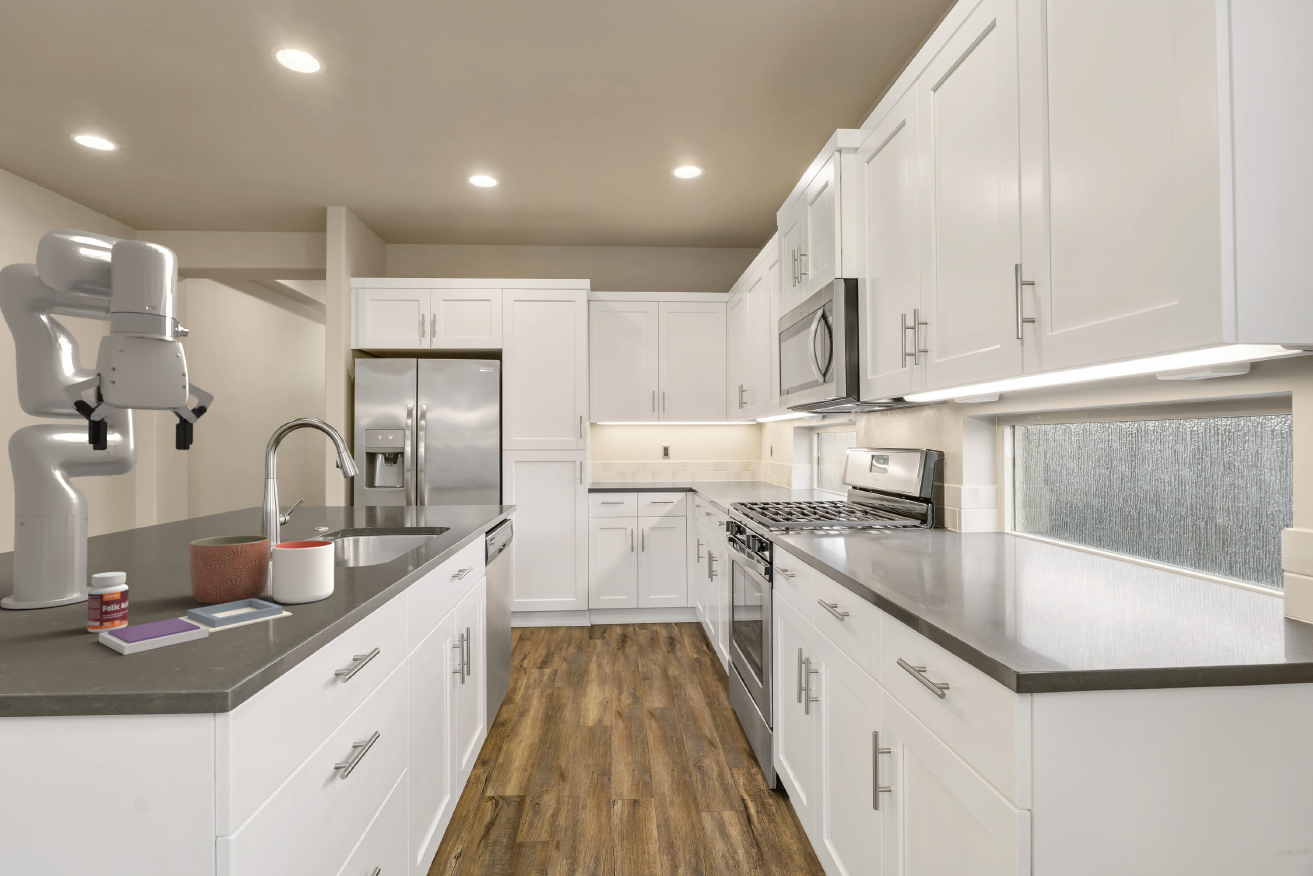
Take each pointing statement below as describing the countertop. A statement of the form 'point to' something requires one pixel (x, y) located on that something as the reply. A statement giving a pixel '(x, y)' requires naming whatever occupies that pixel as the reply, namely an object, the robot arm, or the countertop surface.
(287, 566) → the cup
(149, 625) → the ink pad
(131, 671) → the countertop surface
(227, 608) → the square tray
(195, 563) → the planter
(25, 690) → the countertop surface
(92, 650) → the countertop surface
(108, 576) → the pill bottle
